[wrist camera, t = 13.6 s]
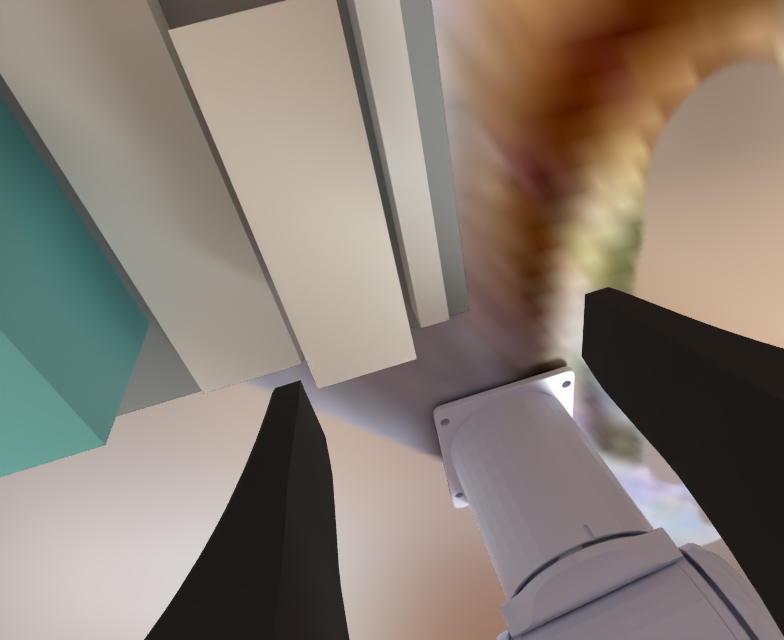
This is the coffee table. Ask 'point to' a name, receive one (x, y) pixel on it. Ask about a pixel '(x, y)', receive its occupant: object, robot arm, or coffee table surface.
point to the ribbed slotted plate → (219, 174)
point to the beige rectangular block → (303, 177)
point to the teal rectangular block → (55, 318)
